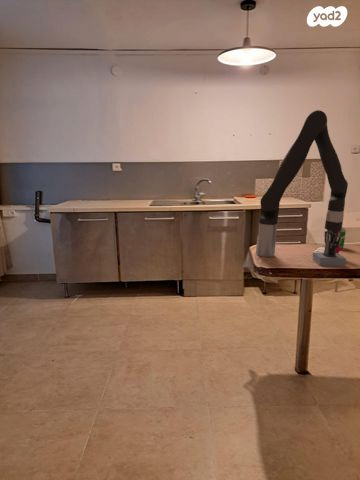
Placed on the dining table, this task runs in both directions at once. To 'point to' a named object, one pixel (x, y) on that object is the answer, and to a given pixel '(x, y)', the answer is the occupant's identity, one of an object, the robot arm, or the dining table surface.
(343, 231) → the soda can
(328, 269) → the dining table surface
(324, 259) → the socket box
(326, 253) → the block
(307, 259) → the dining table surface
